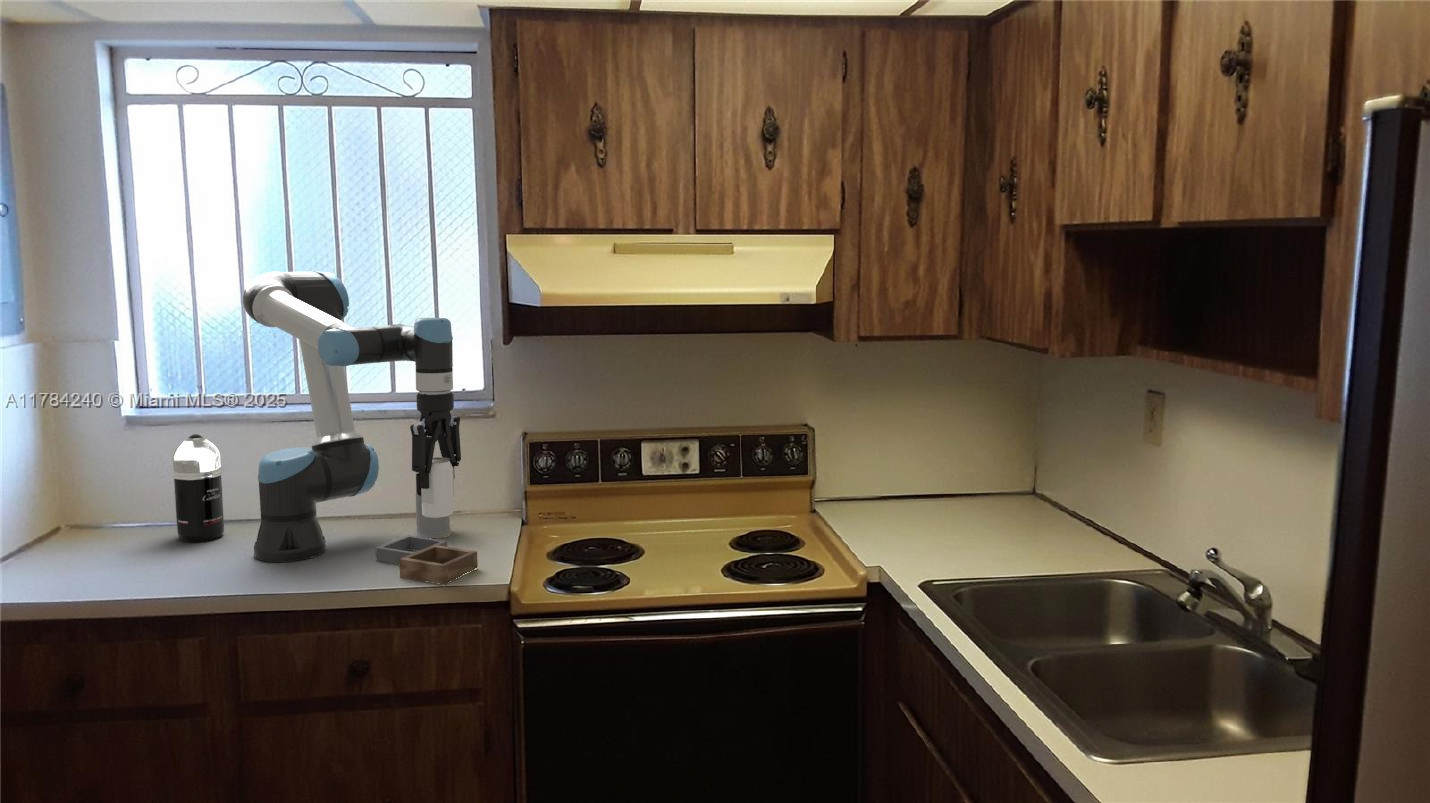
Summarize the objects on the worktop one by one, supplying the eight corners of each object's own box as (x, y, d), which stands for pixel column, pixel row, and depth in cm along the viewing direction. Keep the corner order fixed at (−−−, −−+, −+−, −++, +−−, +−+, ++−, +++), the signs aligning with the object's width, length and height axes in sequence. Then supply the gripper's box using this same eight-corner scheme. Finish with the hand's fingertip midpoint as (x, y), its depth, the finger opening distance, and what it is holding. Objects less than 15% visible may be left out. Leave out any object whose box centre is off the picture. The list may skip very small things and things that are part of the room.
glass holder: (419, 540, 236) (417, 479, 234) (406, 526, 248) (404, 467, 246) (455, 536, 240) (454, 476, 238) (441, 522, 253) (440, 464, 250)
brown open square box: (399, 577, 209) (399, 558, 209) (434, 562, 220) (434, 544, 219) (444, 584, 205) (443, 566, 205) (477, 569, 216) (477, 551, 215)
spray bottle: (166, 540, 233) (160, 435, 229) (203, 529, 242) (197, 429, 239) (198, 545, 229) (192, 439, 225) (235, 534, 239) (229, 432, 235)
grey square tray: (376, 560, 220) (375, 547, 220) (409, 547, 230) (408, 535, 230) (416, 567, 216) (415, 554, 216) (447, 553, 226) (447, 541, 226)
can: (444, 519, 207) (443, 463, 205) (416, 517, 208) (414, 461, 206) (458, 512, 213) (457, 457, 211) (431, 510, 214) (429, 456, 212)
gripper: (419, 398, 197) (423, 511, 200) (477, 387, 214) (479, 491, 217) (389, 396, 200) (393, 507, 203) (448, 385, 217) (451, 488, 220)
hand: (438, 499), depth 210 cm, fingers closed on can, 6 cm apart
